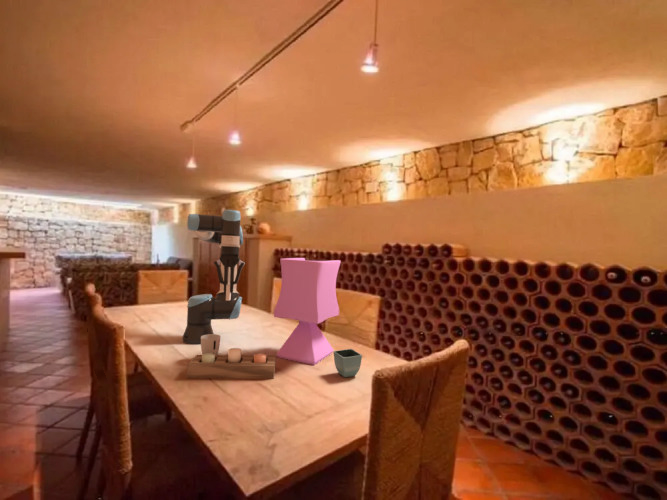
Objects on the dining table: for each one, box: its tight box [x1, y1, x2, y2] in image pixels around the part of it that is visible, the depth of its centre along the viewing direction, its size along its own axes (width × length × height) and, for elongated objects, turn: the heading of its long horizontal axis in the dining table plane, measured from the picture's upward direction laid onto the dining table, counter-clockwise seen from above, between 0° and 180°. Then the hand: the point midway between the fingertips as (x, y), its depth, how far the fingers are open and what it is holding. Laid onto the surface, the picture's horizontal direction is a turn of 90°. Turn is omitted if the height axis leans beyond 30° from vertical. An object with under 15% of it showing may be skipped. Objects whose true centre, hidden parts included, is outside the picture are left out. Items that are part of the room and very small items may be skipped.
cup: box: [200, 333, 221, 355], centre depth 147 cm, size 8×8×10 cm
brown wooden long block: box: [186, 354, 277, 380], centre depth 134 cm, size 12×32×5 cm, turn 96°
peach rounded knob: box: [227, 347, 242, 363], centre depth 134 cm, size 5×5×5 cm
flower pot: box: [333, 348, 363, 378], centre depth 136 cm, size 9×9×9 cm
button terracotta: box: [253, 353, 267, 363], centre depth 135 cm, size 5×5×5 cm
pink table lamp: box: [273, 257, 341, 366], centre depth 158 cm, size 22×22×45 cm
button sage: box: [201, 353, 215, 363], centre depth 133 cm, size 5×5×5 cm
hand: (228, 299), depth 147 cm, fingers closed
